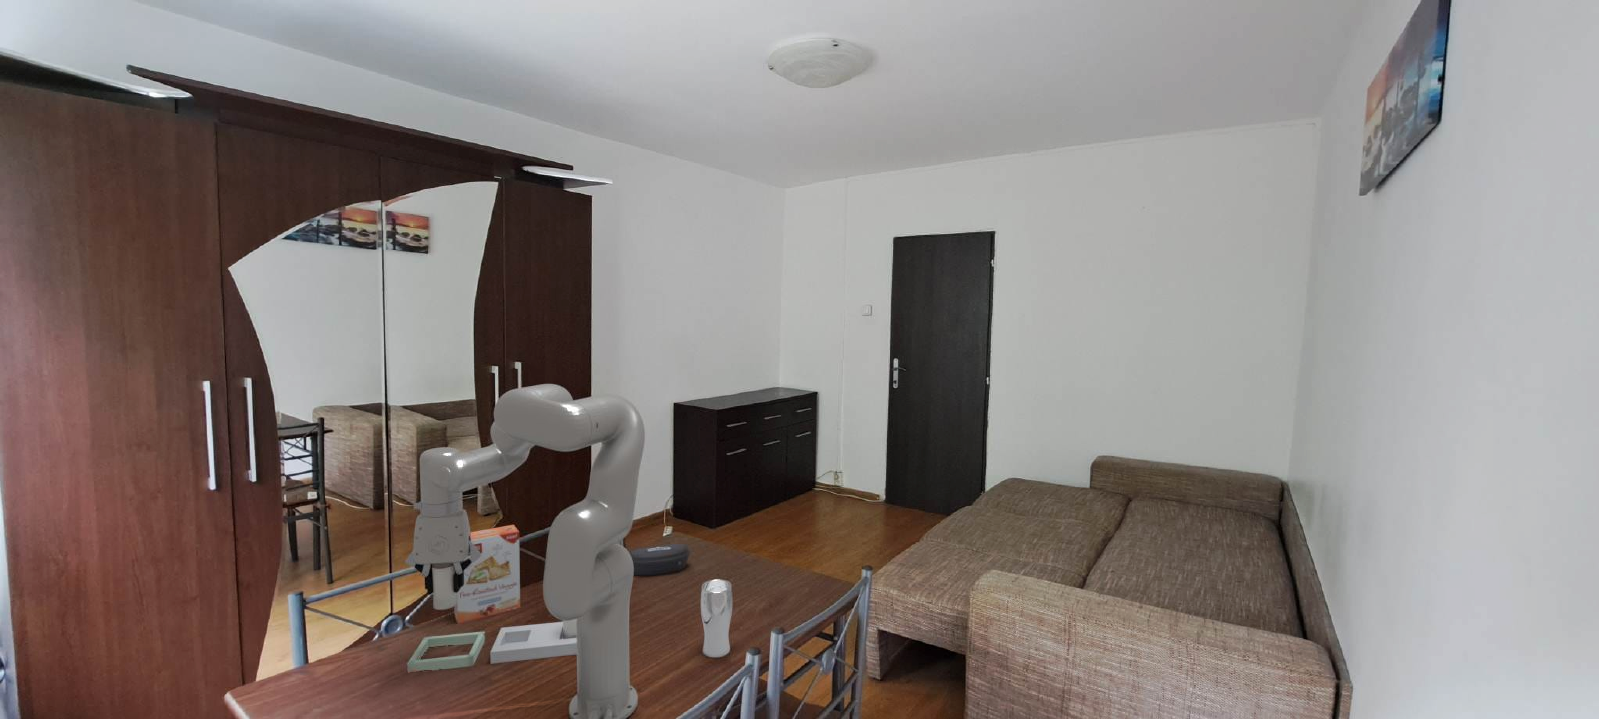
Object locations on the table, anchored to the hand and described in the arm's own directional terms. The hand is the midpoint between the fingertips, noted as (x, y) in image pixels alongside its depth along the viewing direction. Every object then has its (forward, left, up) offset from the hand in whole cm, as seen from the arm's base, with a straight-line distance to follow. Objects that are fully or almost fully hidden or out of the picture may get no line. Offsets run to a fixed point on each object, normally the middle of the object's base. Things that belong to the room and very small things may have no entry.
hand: (444, 589), depth 132 cm
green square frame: (0, 0, -16) cm, 16 cm away
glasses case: (+37, -45, -16) cm, 60 cm away
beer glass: (-8, -57, -16) cm, 59 cm away
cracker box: (+19, -4, -16) cm, 25 cm away
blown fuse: (0, 0, -3) cm, 3 cm away
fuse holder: (0, -20, -16) cm, 25 cm away
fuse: (0, -26, -15) cm, 30 cm away
